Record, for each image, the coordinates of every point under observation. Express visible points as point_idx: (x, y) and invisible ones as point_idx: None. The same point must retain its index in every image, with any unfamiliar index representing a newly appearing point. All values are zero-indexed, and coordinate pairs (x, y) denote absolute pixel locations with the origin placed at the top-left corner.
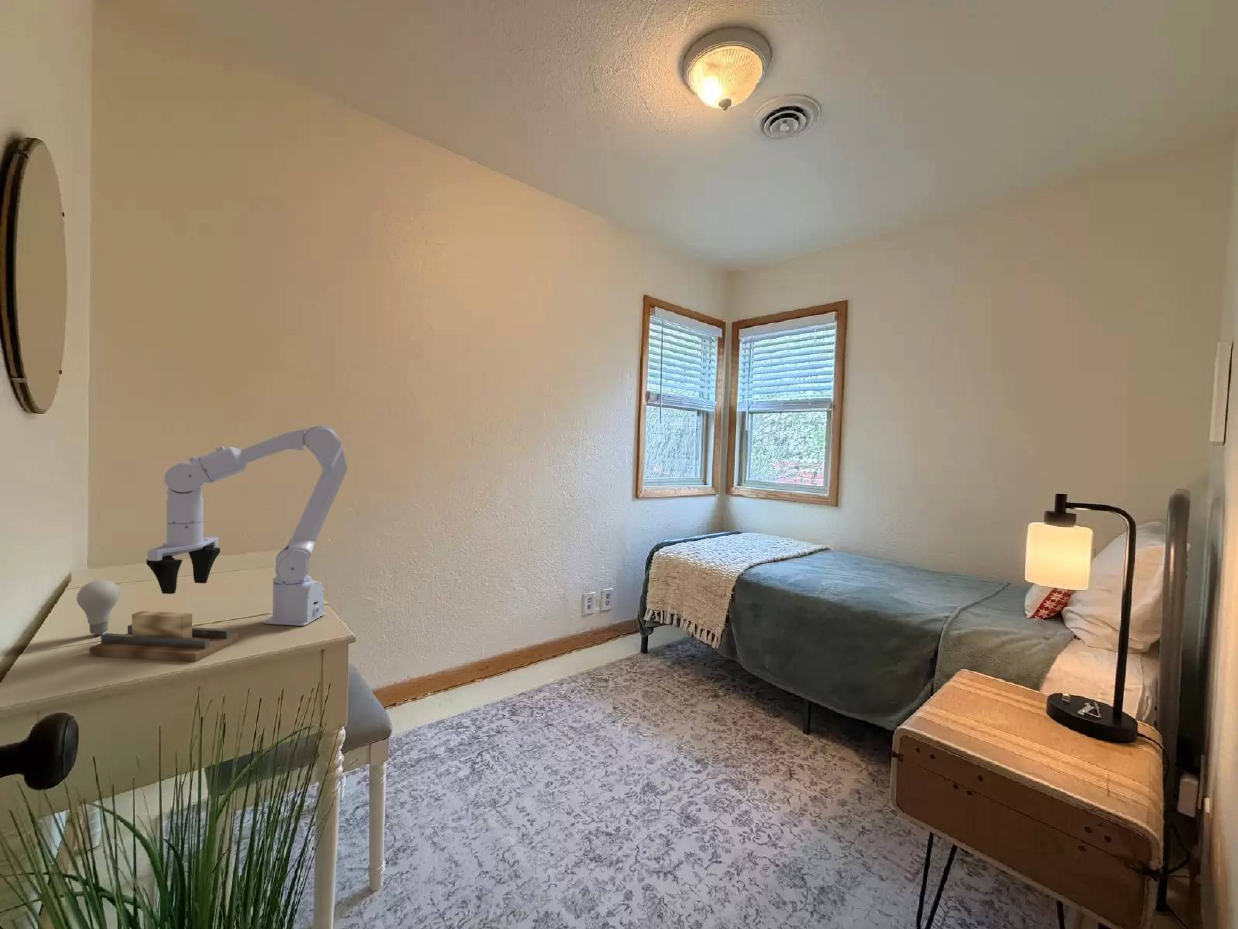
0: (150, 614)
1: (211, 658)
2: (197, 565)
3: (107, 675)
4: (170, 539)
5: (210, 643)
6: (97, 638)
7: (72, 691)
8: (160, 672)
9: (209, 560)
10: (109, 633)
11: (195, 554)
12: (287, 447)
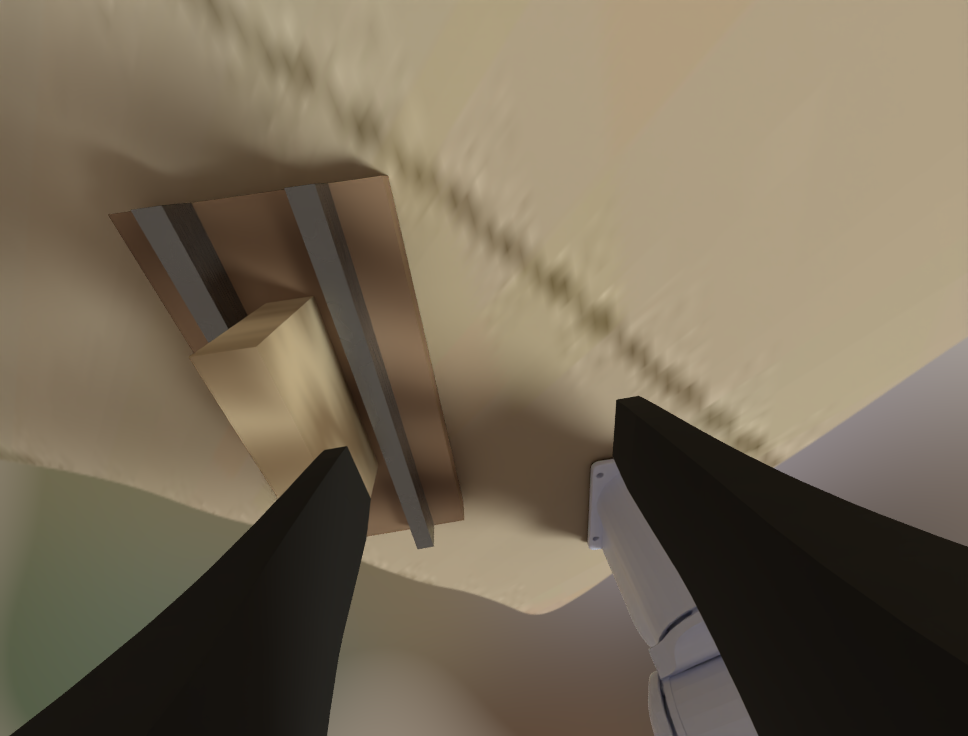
0: (251, 439)
1: None
2: (723, 539)
3: (137, 436)
4: None
5: (377, 522)
6: None
7: (37, 455)
8: (239, 514)
9: (741, 690)
10: (171, 224)
11: (893, 724)
12: None
